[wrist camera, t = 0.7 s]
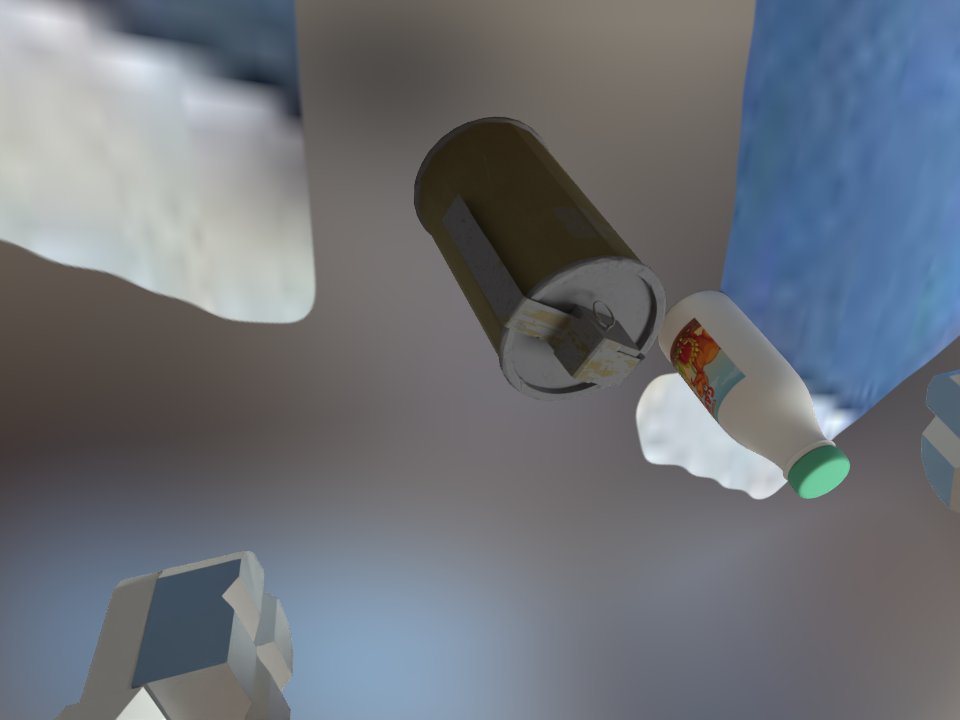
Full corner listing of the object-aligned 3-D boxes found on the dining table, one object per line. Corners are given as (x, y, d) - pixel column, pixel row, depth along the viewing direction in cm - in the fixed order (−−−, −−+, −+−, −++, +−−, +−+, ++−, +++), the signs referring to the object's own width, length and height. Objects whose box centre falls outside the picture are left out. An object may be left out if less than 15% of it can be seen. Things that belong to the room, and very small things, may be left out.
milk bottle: (702, 273, 74) (846, 432, 61) (743, 307, 80) (884, 461, 66) (639, 334, 77) (764, 500, 63) (682, 363, 82) (807, 523, 68)
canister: (576, 150, 61) (724, 318, 48) (498, 263, 66) (613, 445, 52) (459, 88, 55) (591, 260, 41) (380, 216, 59) (475, 411, 45)
